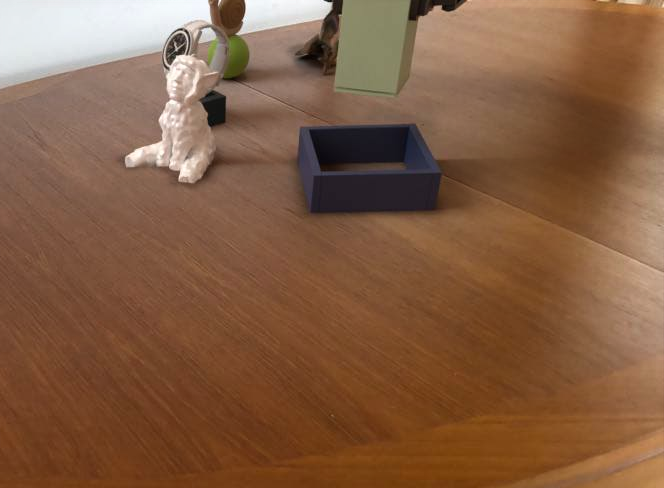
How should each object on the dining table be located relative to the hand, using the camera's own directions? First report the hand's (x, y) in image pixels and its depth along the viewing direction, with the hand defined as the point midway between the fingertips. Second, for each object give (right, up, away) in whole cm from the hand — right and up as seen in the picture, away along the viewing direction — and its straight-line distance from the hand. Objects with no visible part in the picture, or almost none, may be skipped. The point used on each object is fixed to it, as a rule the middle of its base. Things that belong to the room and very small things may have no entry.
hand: (376, 5), depth 78 cm
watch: (-14, -1, +28) cm, 31 cm away
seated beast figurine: (-16, -10, +17) cm, 26 cm away
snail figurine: (-9, +8, +39) cm, 40 cm away
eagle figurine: (+4, +10, +41) cm, 42 cm away
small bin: (+1, -5, +7) cm, 8 cm away
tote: (+1, -14, +11) cm, 18 cm away
